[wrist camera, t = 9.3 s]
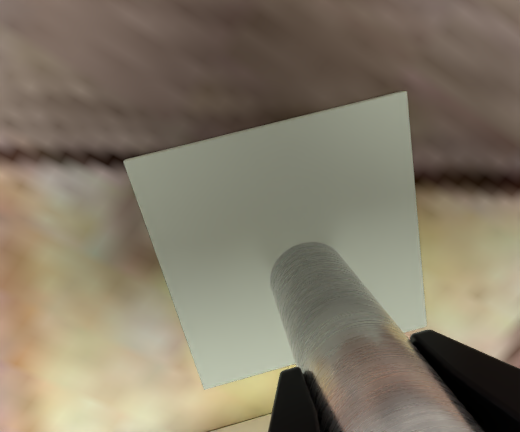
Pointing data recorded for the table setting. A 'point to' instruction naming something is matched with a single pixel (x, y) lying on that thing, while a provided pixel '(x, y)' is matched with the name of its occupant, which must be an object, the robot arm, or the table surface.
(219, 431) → the grey square-hole box
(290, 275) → the shiny metal cylinder
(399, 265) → the mat
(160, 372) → the table surface
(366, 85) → the table surface
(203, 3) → the table surface
